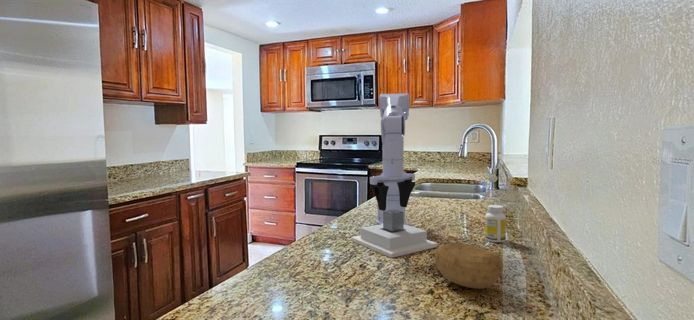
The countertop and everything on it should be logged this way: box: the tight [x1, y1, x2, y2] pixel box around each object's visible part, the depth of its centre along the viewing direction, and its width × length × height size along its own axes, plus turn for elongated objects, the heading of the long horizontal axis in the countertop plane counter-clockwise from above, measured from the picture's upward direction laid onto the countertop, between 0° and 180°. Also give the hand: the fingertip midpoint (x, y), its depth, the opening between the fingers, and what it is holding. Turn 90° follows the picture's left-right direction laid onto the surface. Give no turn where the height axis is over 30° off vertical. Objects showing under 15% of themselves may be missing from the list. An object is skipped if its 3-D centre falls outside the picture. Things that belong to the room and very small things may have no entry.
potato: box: [433, 242, 504, 290], centre depth 74 cm, size 10×14×8 cm
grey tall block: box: [383, 210, 404, 233], centre depth 102 cm, size 4×4×8 cm
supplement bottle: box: [484, 204, 507, 243], centre depth 104 cm, size 5×5×10 cm
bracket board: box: [350, 224, 438, 259], centre depth 102 cm, size 18×16×4 cm
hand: (393, 208), depth 102 cm, fingers open, 7 cm apart
